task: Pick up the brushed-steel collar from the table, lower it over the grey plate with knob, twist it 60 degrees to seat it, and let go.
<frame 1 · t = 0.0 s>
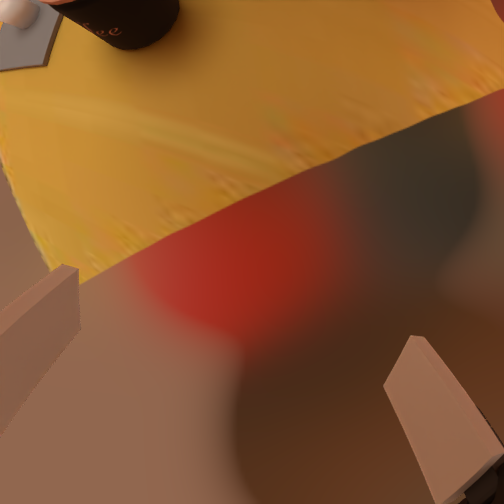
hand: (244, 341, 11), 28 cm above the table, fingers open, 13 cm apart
grey plate with knob: (33, 18, 27), on the table
coffee jar: (142, 18, 29), on the table
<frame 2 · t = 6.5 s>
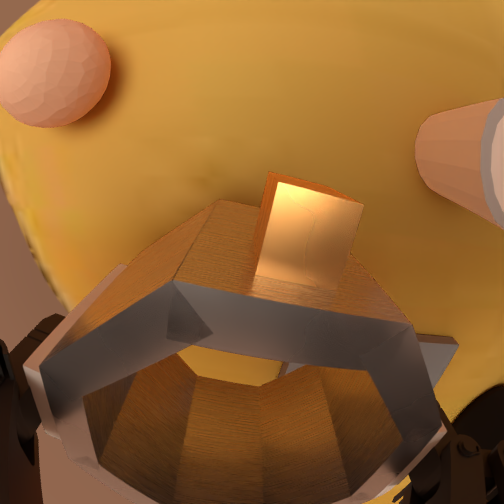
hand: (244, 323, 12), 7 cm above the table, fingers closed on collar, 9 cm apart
collar: (244, 319, 12), point 6 cm above the table, touching gripper
grey plate with knob: (343, 415, 23), on the table
coffee jar: (477, 413, 26), on the table
shot glass: (446, 154, 17), on the table
egg: (87, 84, 15), on the table
when the fingers open (2 cm above the table, at t = 11.0 s): collar stays where it is, resting on grey plate with knob.
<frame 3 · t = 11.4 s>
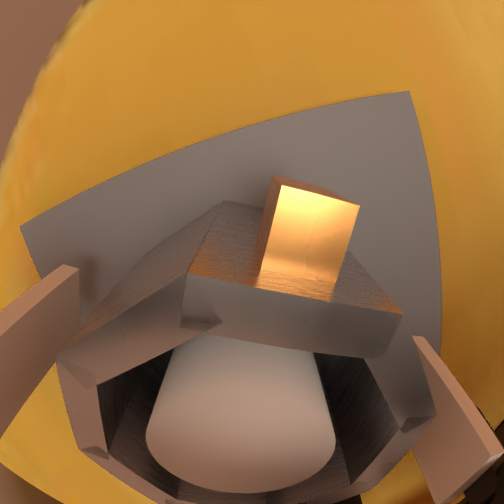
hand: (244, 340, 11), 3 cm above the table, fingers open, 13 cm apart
collar: (247, 315, 13), point 1 cm above the table, touching grey plate with knob
grey plate with knob: (245, 300, 14), on the table
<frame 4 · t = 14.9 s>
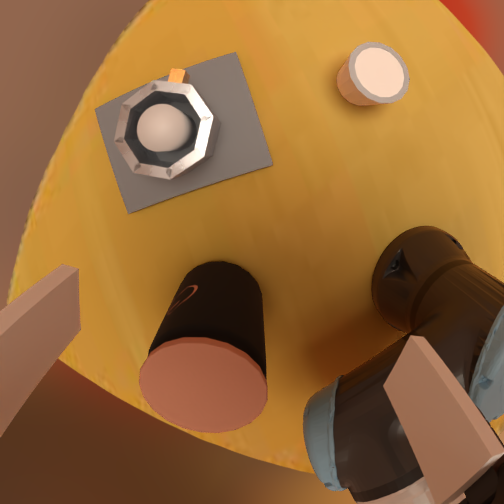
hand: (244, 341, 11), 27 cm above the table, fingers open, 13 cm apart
collar: (178, 132, 32), point 1 cm above the table, touching grey plate with knob
grey plate with knob: (179, 132, 33), on the table
coffee jar: (220, 295, 40), on the table
shot glass: (358, 84, 31), on the table
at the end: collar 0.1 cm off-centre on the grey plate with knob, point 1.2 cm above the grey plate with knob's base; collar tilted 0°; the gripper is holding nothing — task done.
